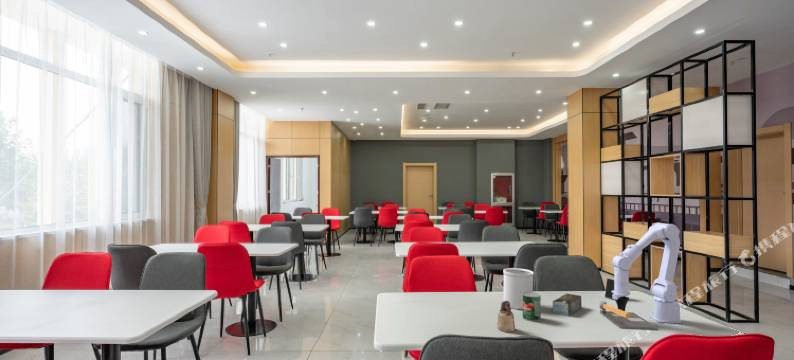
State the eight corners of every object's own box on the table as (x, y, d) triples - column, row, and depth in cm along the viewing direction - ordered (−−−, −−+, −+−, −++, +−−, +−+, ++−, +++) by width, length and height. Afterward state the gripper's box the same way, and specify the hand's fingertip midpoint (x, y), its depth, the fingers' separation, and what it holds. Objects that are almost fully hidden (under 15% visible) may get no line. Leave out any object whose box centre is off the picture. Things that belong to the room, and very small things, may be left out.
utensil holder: (529, 302, 211) (529, 268, 211) (536, 310, 196) (536, 274, 196) (500, 301, 212) (501, 267, 213) (505, 309, 197) (505, 273, 198)
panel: (632, 314, 192) (632, 309, 192) (657, 329, 171) (657, 324, 171) (599, 312, 194) (599, 307, 194) (619, 328, 173) (619, 322, 173)
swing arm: (598, 307, 194) (598, 301, 194) (603, 307, 194) (603, 301, 194) (624, 319, 176) (624, 312, 177) (630, 318, 177) (630, 312, 177)
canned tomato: (542, 317, 185) (542, 293, 186) (538, 322, 179) (538, 297, 179) (524, 314, 189) (524, 291, 190) (520, 319, 183) (520, 294, 183)
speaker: (609, 299, 217) (611, 280, 218) (604, 297, 223) (606, 278, 224) (624, 301, 217) (625, 281, 217) (618, 298, 222) (620, 279, 223)
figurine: (511, 326, 173) (512, 298, 173) (517, 332, 166) (517, 303, 166) (495, 326, 173) (495, 298, 173) (500, 332, 166) (500, 302, 166)
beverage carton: (551, 313, 193) (551, 299, 193) (566, 305, 207) (566, 292, 208) (568, 316, 188) (568, 302, 188) (582, 308, 202) (582, 295, 202)
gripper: (618, 278, 191) (618, 307, 191) (605, 283, 182) (605, 313, 182) (635, 281, 186) (635, 311, 186) (621, 286, 177) (621, 317, 176)
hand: (621, 312), depth 183 cm, fingers closed, pressing on swing arm
